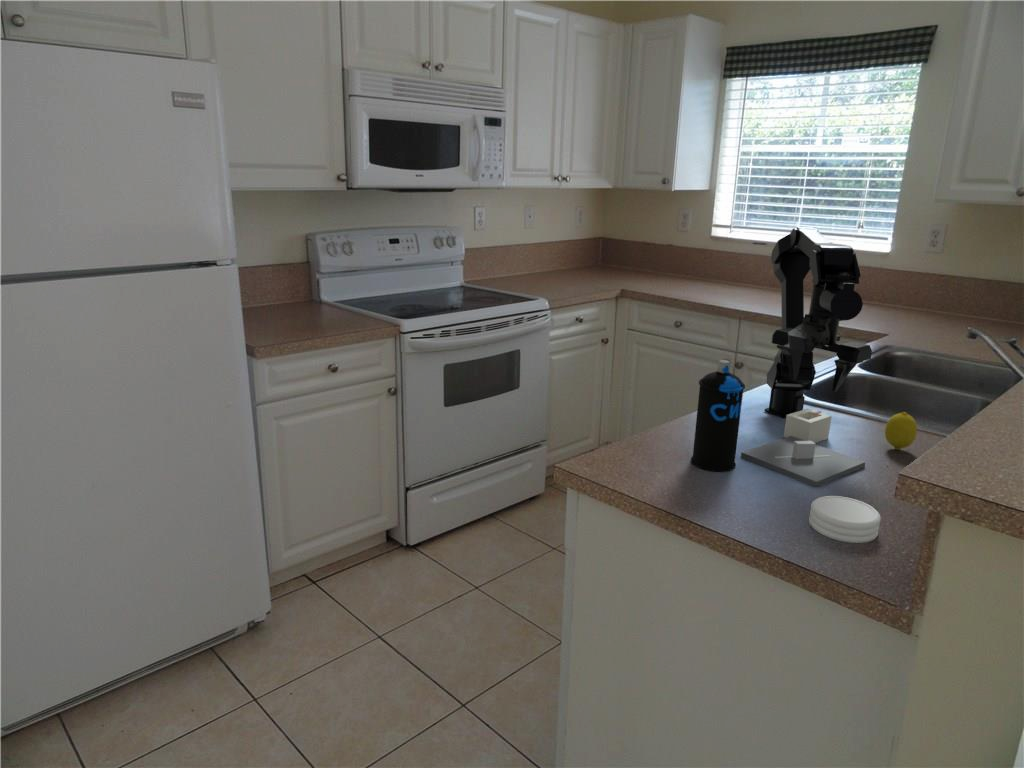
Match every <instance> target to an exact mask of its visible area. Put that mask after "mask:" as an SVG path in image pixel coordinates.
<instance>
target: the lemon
mask: <svg viewBox="0 0 1024 768" xmlns="http://www.w3.org/2000/svg"><path fill="white" fill-rule="evenodd" d="M917 426H918V425H917V422H916V420H915V418H914V417H913V416H911V415H910V414H908V413H907V412H905V411H902V412H899V413H896V414H894V415H891V417H890V418H889V419H888V421H887V423H886V425H885V428H884V435H885V436H884V437H885V440H886V442H887V443H888V444H889V445H890V446H892V447H893V448H894V449H895V450H897V451H899V450H901V449H904V448H907V447H910V446H911V445H912V444H913V443H914V442H915V440H916V439H917V438H916V437H917V435H918V434H917V433H918V427H917Z"/></svg>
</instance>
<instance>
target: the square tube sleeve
mask: <svg viewBox="0 0 1024 768" xmlns="http://www.w3.org/2000/svg"><path fill="white" fill-rule="evenodd" d="M832 417H833V416H832V415H830V414H827V413H824V412H822V411H821V410H813V409H811V408H803V410H801V411H798V412H794V413H791V414H788V415H787V416H786V418H785V423H784V425H785V426H784V430H783V431H784V432H783V437H785V438H786V437H789V436H793V437H795V438H798V439H801V440H804V441H813V442H814V443H815V444H817V443H819V441H820V442H822V440H823V441H825V440H828V439H829V435H830V429H831V423H832V422H831V421H832V419H833V418H832ZM827 438H828V439H827ZM816 442H817V443H816Z"/></svg>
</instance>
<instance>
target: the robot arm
mask: <svg viewBox="0 0 1024 768" xmlns="http://www.w3.org/2000/svg"><path fill="white" fill-rule="evenodd" d="M771 250H772V251H771V254H770V255H771V257H770V261H771V263H772V264H773V274H774V276H775V277H776V278H777V280H778V281H779V282H780V284H781V287H780V289H781V291H780V292H781V294H780V296H781V328H779V329H776V330H775V331H774V332H773V333H772V335H771V342H770V344H773V345H776V348H777V349H778V351H777V353H776V354H775V356H774V360H773V363H772V365H771V367H770V369H769V370H768V372H767V373H766V385H767V386H768V387H769V388H770V397H769V405H768V407H766V408H764V410H763V411H764V412H766V413H769V414H773V415H775V416H778V417H781V418H785V419H786V416H787V415H788V414H791V413H794V412H798V411H801V410H804V406H805V405H804V404H805V398H806V397H805V395H804V393H805V391H809V392H810V391H811V389H812V386H813V384H814V383H813V382H814V380H815V377H816V374H817V372H816V368H815V364H814V352H813V351H814V350H815V349H818V350H823V351H828V352H831V353H836V354H835V355H836V356H837V358H838V359H834V363H835V373H834V377H833V378H834V379H833V381H832V382H833V383H832V392H833V393H834V392H837V391H838V390H839V389H840V388H841V386H842V384H844V382H845V380H846V378H847V377H848V375H850V373H851V372H852V370H854V368H855V367H856V366H857V365H858V364H861V363H864V361H865V362H866V361H869V360H871V359H872V356H873V354H872V353H873V350H872V348H871V345H870V344H866V343H862V342H857V341H849V342H845V343H839V342H840V341H841V335H838V332H839V326H840V322H841V321H850V320H852V319H855V318H856V317H857V316H858V315H860V313H861V311H862V309H863V305H864V303H863V298H862V297H861V294H860V293H859V292H857V291H856V290H855V285H859V284H860V278H861V276H862V275H861V271H860V267H859V262H858V258H857V254H856V252H855V251H854V248H853V247H852V245H847V244H841V243H840V244H839V243H833V242H832V241H830V240H829V239H828V238H827V237H825V236H824V235H823V234H821V233H820V230H819V228H815V227H806V226H805V227H798V226H797V227H796V228H792V230H791V231H790V233H789V234H787V235H786V236H783V237H782V238H780V239H778V240H777V242H776V243H775V245H774V247H773V249H771ZM810 271H811V275H812V284H813V285H812V291H811V297H810V302H809V303H810V305H809V311H808V313H804V311H805V309H804V308H805V306H804V305H805V301H804V300H805V299H804V280H805V279H806V276H808V273H809V272H810Z"/></svg>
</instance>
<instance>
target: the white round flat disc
mask: <svg viewBox="0 0 1024 768" xmlns="http://www.w3.org/2000/svg"><path fill="white" fill-rule="evenodd" d="M881 520H882V517H881V515H880V512H878V510H877V509H875V508H874V507H873V506H871V505H870V504H868V503H866V502H865V501H862V500H859V499H855V498H851V497H847V496H840V495H826V496H825V495H824V496H820V497H817V498H816V499H814V500H813V501H812V502H811V505H810V511H809V517H808V522H809V526H810V527H811V528H813V530H815V531H816V532H817V533H819V534H821V535H823V536H824V537H827V538H829V539H832V540H835V541H838V542H843V543H851V544H864V543H868V542H872V541H873V540H875V539H876V538H877V537H878V535H879V529H880V526H881V525H880V523H881Z"/></svg>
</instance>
